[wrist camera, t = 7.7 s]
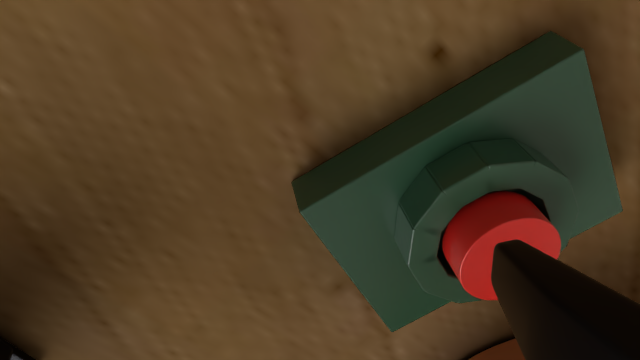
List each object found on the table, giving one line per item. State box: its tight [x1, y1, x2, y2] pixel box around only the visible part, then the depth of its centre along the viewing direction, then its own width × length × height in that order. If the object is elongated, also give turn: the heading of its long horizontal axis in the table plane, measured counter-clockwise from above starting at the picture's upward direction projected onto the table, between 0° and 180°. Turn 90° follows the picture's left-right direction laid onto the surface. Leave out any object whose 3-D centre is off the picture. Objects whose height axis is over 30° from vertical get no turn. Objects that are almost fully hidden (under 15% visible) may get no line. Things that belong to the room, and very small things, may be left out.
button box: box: [292, 31, 623, 332], centre depth 22 cm, size 12×9×4 cm
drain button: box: [442, 191, 561, 300], centre depth 20 cm, size 4×4×2 cm
